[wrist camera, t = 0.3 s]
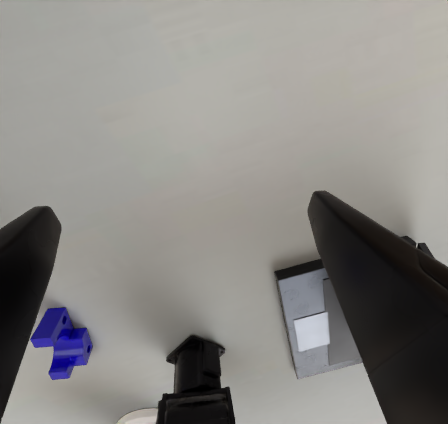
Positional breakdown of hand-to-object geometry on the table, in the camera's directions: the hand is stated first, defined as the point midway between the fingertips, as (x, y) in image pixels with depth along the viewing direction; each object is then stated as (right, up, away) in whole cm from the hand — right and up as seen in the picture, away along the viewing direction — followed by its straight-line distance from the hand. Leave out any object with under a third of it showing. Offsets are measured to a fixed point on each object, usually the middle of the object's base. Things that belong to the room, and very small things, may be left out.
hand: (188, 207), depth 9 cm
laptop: (+19, -15, +29) cm, 38 cm away
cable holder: (-18, -15, +24) cm, 34 cm away
